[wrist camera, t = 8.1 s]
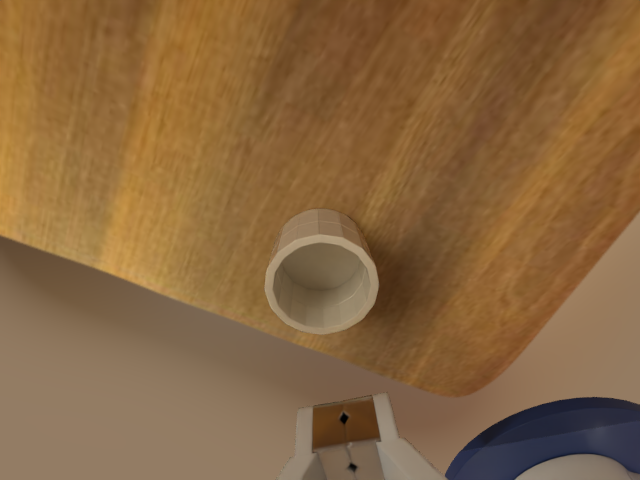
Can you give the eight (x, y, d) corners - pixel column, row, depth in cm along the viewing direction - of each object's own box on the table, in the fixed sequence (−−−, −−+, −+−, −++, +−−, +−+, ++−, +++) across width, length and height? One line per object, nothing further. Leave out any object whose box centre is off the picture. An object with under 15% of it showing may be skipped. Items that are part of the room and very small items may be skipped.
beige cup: (373, 281, 25) (387, 322, 20) (288, 300, 26) (282, 343, 21) (356, 198, 23) (367, 223, 18) (262, 220, 23) (249, 250, 18)
